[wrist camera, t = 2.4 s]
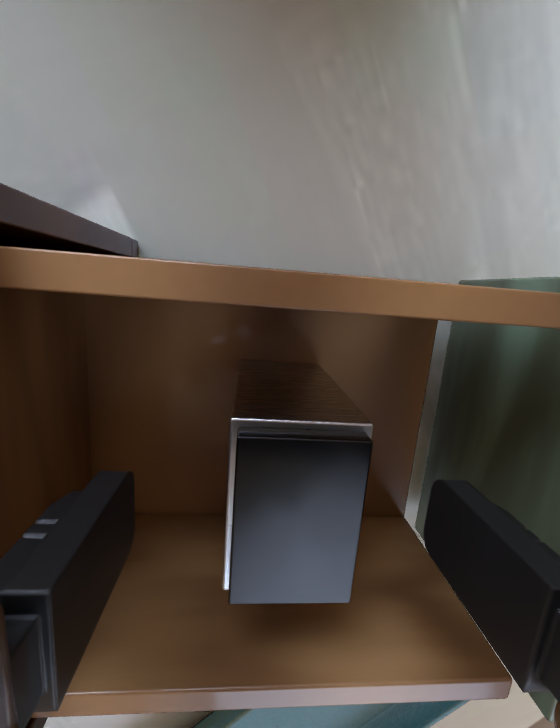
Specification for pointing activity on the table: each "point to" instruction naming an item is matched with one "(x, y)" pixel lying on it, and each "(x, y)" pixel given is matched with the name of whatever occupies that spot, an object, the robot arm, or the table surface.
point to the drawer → (210, 462)
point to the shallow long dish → (336, 716)
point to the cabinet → (54, 243)
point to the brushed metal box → (293, 486)
